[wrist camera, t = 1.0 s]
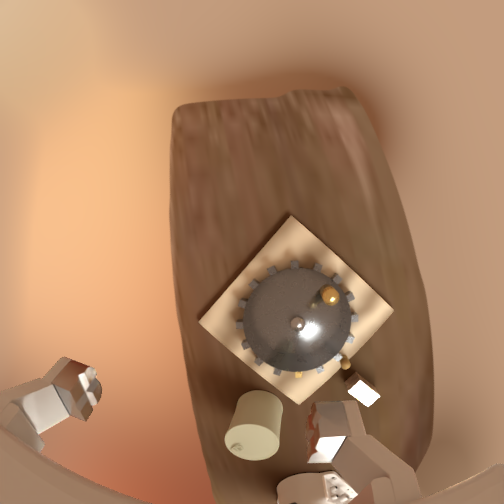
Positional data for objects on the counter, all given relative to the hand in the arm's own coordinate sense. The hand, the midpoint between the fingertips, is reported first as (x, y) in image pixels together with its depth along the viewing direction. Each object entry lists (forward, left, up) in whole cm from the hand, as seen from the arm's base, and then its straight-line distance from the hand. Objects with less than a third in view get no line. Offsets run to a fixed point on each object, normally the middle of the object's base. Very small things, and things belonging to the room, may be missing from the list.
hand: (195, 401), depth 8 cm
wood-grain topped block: (-27, +4, -39) cm, 48 cm away
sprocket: (-8, +3, -38) cm, 39 cm away
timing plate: (-8, +3, -39) cm, 40 cm away
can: (-16, +21, -39) cm, 48 cm away
